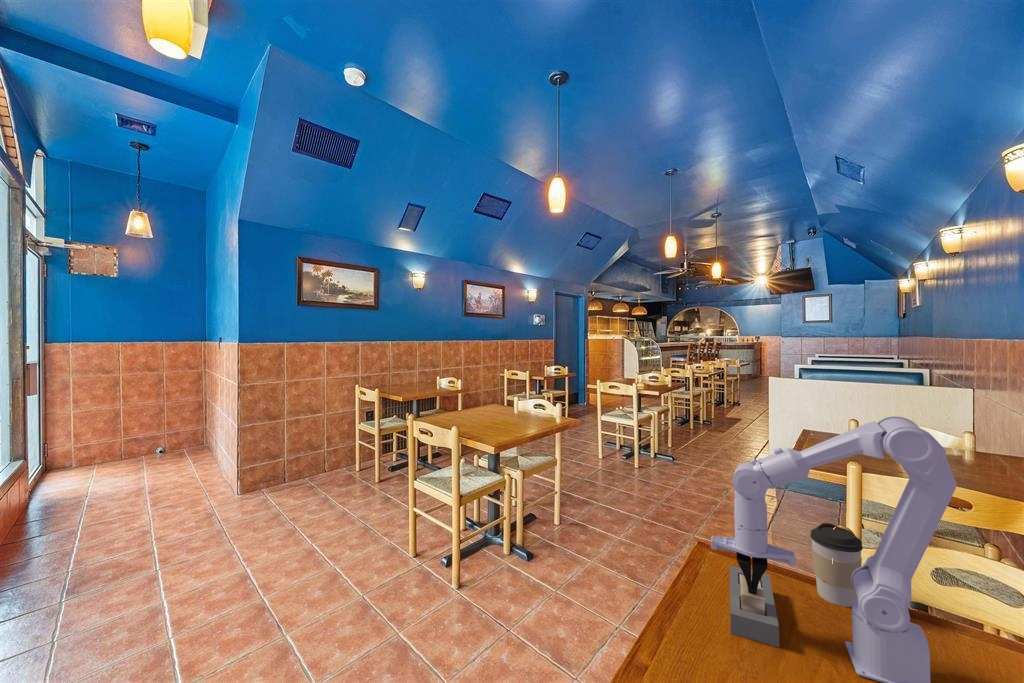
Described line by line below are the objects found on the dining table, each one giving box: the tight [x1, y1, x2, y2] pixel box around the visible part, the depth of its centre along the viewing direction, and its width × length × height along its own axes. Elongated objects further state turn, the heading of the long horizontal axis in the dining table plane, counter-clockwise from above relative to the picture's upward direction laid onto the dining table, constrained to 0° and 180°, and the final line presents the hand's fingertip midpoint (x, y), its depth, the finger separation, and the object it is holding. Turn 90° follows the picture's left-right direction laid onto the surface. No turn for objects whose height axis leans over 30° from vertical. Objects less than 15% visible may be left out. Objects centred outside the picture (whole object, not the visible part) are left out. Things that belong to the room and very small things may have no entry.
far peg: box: [739, 574, 761, 588], centre depth 88 cm, size 4×4×4 cm
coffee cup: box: [809, 522, 864, 608], centre depth 88 cm, size 9×9×15 cm
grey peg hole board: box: [729, 565, 780, 648], centre depth 84 cm, size 8×18×4 cm, turn 152°
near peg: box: [741, 583, 765, 616], centre depth 80 cm, size 4×4×4 cm
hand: (752, 590), depth 80 cm, fingers closed
